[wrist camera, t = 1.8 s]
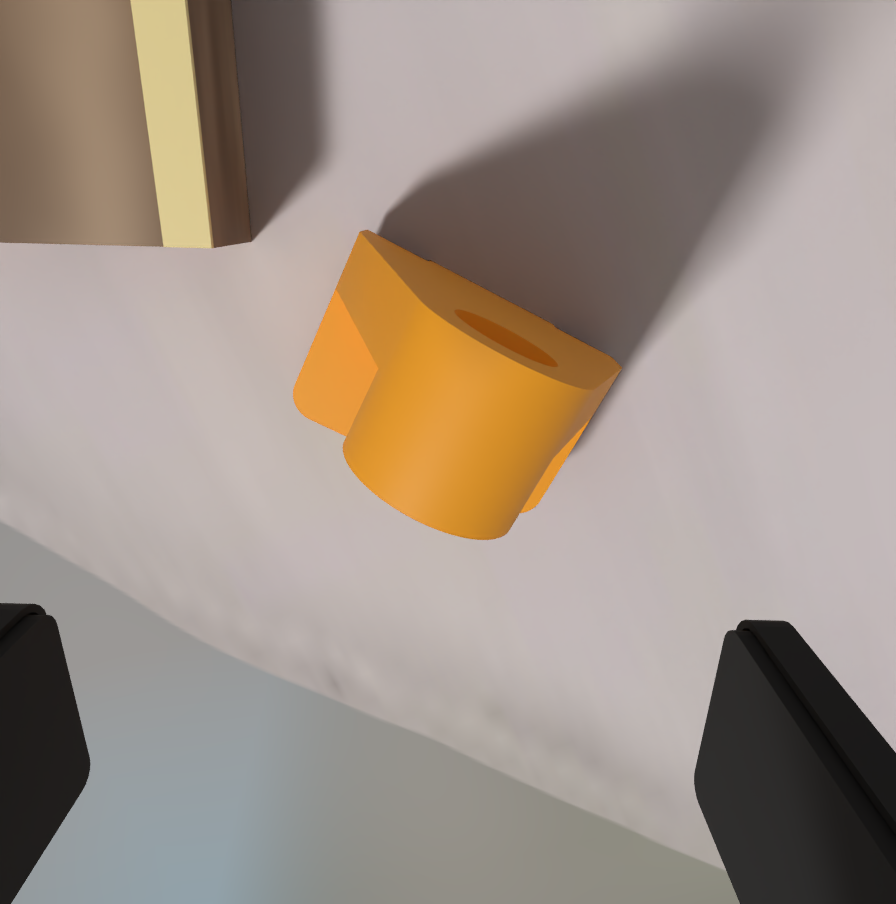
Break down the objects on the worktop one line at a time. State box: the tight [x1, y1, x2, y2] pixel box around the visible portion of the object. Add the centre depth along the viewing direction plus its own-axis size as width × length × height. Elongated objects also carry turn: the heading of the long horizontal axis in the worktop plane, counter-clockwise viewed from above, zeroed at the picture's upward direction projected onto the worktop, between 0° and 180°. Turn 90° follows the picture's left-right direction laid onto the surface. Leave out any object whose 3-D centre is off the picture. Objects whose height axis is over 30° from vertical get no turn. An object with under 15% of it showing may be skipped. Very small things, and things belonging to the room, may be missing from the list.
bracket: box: [293, 230, 622, 540], centre depth 21 cm, size 11×7×12 cm, turn 63°
